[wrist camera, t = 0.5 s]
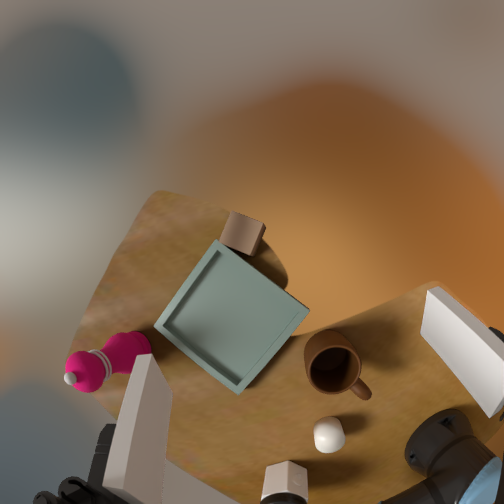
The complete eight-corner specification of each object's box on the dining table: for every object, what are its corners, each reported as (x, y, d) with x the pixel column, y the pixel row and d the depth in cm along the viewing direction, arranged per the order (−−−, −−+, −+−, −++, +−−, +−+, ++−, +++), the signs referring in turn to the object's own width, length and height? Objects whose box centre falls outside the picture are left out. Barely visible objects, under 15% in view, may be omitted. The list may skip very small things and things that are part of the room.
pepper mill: (123, 363, 48) (54, 398, 28) (119, 327, 48) (44, 349, 28) (156, 367, 47) (91, 411, 27) (152, 329, 47) (80, 358, 27)
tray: (308, 308, 44) (310, 310, 42) (240, 389, 45) (238, 395, 42) (219, 240, 46) (215, 238, 44) (159, 323, 47) (153, 326, 45)
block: (266, 227, 46) (263, 222, 41) (254, 256, 46) (249, 255, 41) (237, 216, 46) (231, 210, 42) (225, 244, 46) (218, 242, 42)
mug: (375, 363, 42) (392, 383, 33) (343, 395, 42) (353, 421, 33) (326, 319, 44) (335, 331, 34) (293, 353, 44) (294, 373, 35)
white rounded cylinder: (346, 424, 42) (351, 438, 37) (327, 442, 42) (330, 457, 37) (326, 411, 42) (329, 425, 38) (307, 430, 43) (309, 445, 38)
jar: (316, 471, 42) (319, 511, 30) (290, 492, 42) (288, 531, 30) (280, 454, 43) (276, 494, 31) (254, 476, 43) (246, 515, 31)
